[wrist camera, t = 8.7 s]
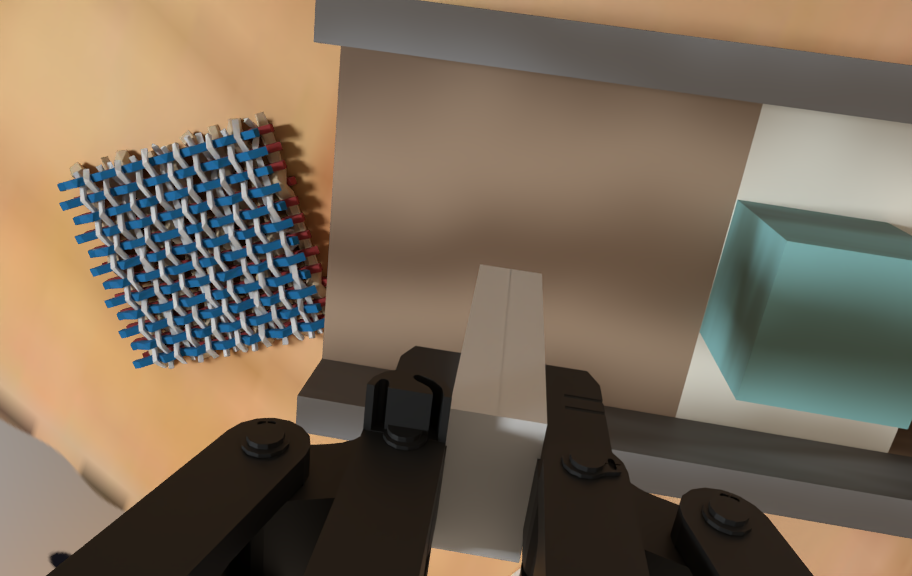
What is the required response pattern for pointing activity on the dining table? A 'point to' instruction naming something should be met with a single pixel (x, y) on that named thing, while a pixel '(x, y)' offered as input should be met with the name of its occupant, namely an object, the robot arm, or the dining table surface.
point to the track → (603, 225)
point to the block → (814, 314)
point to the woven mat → (203, 244)
